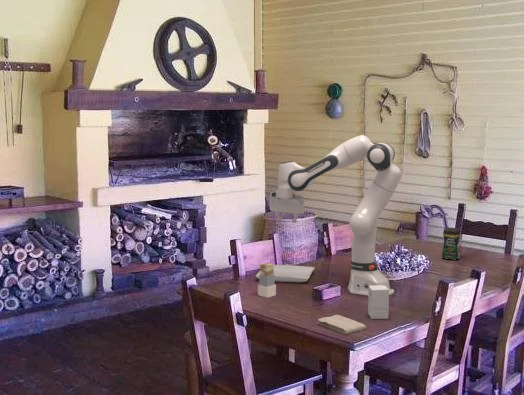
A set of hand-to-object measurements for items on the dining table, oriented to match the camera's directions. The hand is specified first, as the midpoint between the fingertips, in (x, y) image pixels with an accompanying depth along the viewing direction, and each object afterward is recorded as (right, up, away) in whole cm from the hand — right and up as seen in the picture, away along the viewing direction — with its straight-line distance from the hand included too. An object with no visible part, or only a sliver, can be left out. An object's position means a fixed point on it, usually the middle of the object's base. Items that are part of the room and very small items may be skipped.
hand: (286, 221), depth 338 cm
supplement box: (+36, -38, -52) cm, 74 cm away
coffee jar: (+98, -24, +58) cm, 116 cm away
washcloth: (+19, -40, -66) cm, 79 cm away
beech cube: (-10, -24, -20) cm, 33 cm away
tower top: (-10, -29, -20) cm, 37 cm away
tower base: (-10, -34, -19) cm, 40 cm away
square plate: (0, -30, +16) cm, 34 cm away
